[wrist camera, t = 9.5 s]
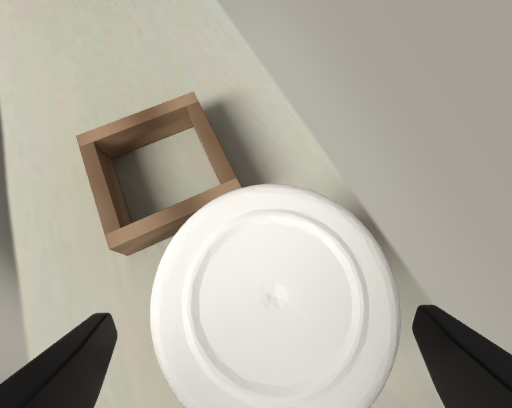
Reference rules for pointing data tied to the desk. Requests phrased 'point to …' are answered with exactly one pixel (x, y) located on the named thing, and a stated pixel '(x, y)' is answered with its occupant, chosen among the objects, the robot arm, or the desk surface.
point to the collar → (133, 137)
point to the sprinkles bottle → (275, 304)
